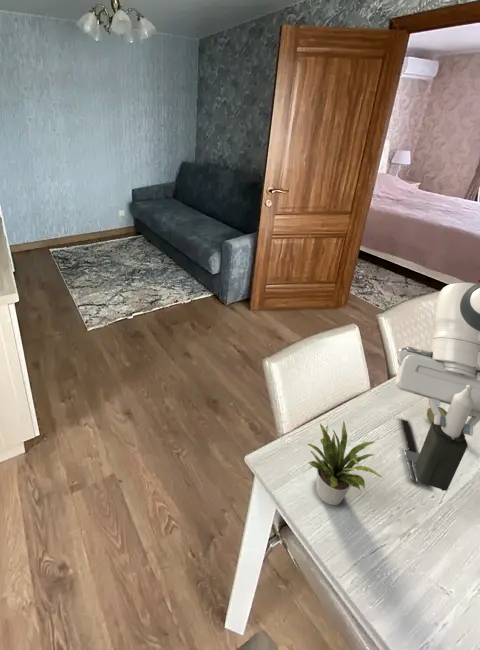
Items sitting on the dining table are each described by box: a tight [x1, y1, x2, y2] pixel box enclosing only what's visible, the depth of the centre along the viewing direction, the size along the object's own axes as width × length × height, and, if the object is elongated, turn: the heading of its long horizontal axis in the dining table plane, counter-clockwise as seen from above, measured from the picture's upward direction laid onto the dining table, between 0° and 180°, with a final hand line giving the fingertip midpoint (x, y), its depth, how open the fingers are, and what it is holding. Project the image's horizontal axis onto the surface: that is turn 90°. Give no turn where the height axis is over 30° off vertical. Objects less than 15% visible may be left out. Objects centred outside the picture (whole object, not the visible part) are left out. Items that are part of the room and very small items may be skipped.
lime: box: [426, 406, 448, 424], centre depth 93 cm, size 4×5×5 cm
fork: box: [400, 419, 430, 487], centre depth 86 cm, size 4×18×1 cm, turn 158°
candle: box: [415, 385, 474, 492], centre depth 68 cm, size 5×5×25 cm
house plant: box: [306, 420, 385, 506], centre depth 73 cm, size 14×14×16 cm
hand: (452, 429), depth 67 cm, fingers closed on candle, 3 cm apart
